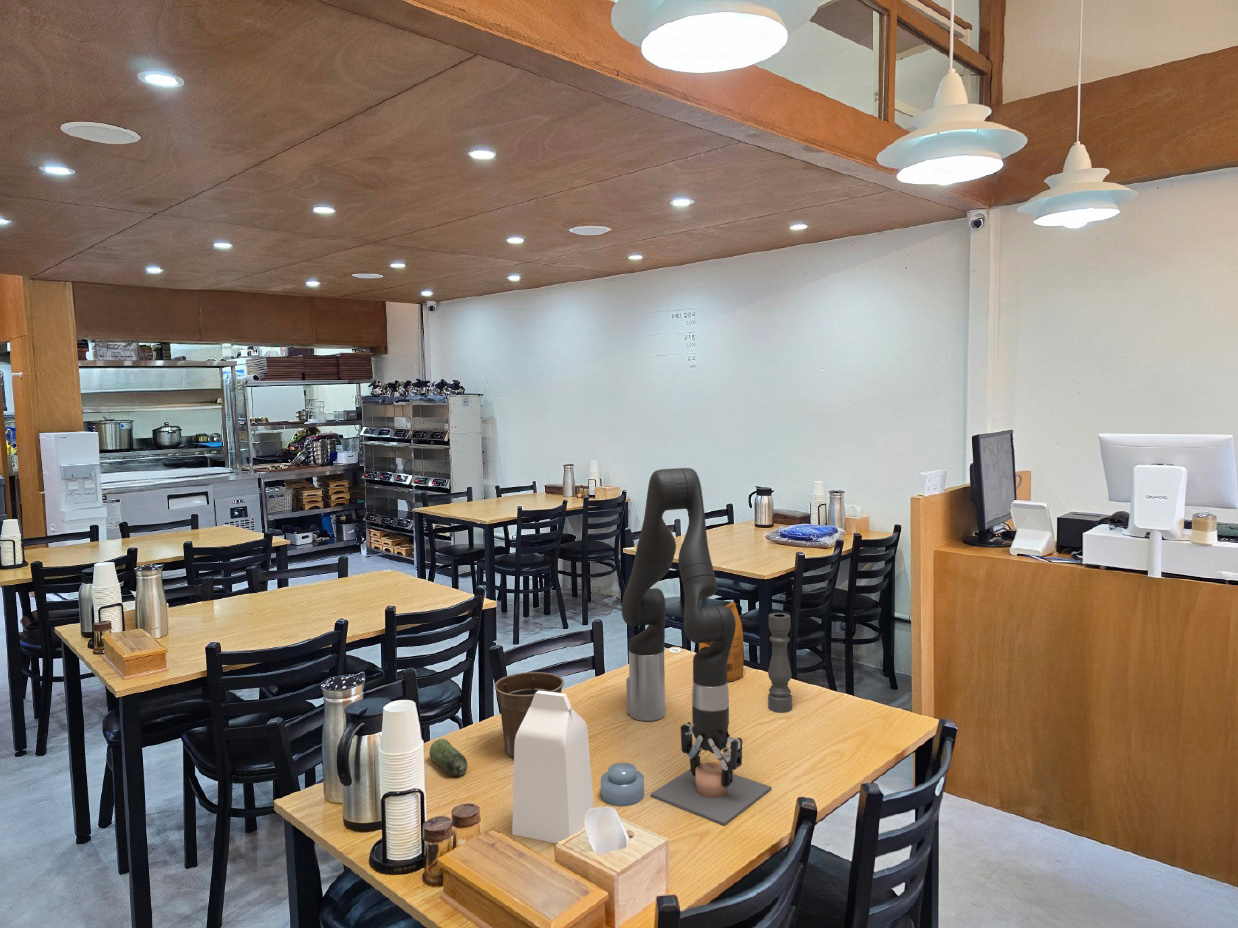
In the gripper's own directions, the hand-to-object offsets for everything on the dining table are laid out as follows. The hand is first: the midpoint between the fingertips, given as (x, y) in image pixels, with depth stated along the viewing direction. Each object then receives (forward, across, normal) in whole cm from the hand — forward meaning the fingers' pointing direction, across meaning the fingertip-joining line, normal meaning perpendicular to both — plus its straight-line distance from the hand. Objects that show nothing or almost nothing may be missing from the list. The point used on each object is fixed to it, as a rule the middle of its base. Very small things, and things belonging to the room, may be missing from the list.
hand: (711, 779), depth 159 cm
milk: (+3, -17, -29) cm, 34 cm away
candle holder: (+3, -11, +49) cm, 50 cm away
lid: (+2, 0, 0) cm, 2 cm away
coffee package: (+3, -36, +59) cm, 69 cm away
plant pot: (+3, -45, -9) cm, 46 cm away
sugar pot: (+3, -14, -12) cm, 19 cm away
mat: (+3, 0, 0) cm, 3 cm away
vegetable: (+3, -53, -27) cm, 59 cm away
